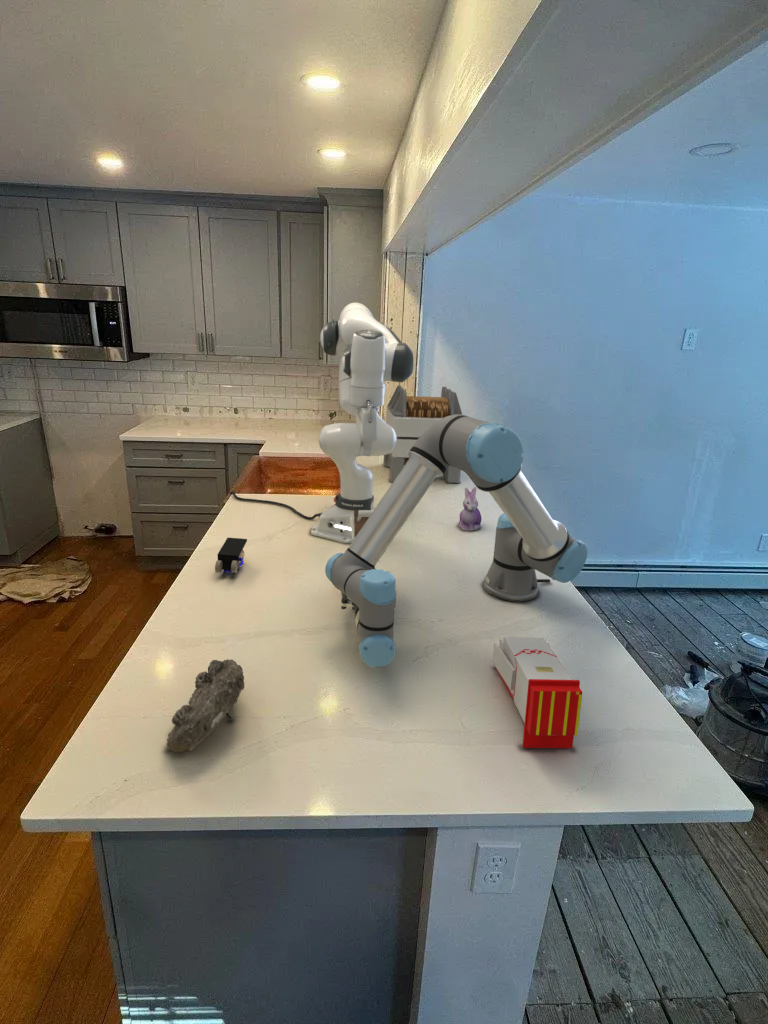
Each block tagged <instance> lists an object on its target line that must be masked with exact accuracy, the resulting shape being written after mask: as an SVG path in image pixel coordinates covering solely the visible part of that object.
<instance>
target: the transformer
mask: <svg viewBox="0 0 768 1024" xmlns="http://www.w3.org/2000/svg"><path fill="white" fill-rule="evenodd" d="M440 393H441V394H440V396H415V395H414V396H413V395H412V396H411V395H407V394H408V393H407V390H406V389H404V388H403V387H402V385H399V384H398V385H397V386H396V388H395V390H394V392H393V394H392V395H391V398H390V400H389V402H388V404H387V405H386V413H385V414H386V415H385V422H386V423H387V424H389V425H390V426H391V427H392V428H393V429H394V431H395V433H396V436H397V443H396V446H395V448H394V450H393V451H392V452H391V453H390V454H386V455H383V466H384V467H388V468H389V475H388V476H389V477H388V478H389V480H390V482H391V483H393V482H394V480H395V479H396V477H397V476H398V474H399V473H400V472H401V470H402V469H403V467H404V466H405V464H406V463H407V461H408V460H409V454H408V452H409V451H410V449H411V448H412V447H413V445H414V444H415V443H416V441H417V440H418V439H419V438H420V436H421V435H422V434H423V433H424V432H425V431H426V430H427V429H428V428H429V427H430V426H432V425H433V424H434V423H436V422H437V421H439V420H440V419H442V418H444V417H447V416H450V415H457V414H458V415H463V411H462V408H461V405H460V402H459V398H458V395H457V392H455V391H453V390H452V389H451V388H447V386H442V387H441V392H440ZM461 472H462V470H460V469H458V468H455V467H452V466H451V467H449V468H448V469H447V470H446V471H445V473H444V474H443V476H442V477H443V478H444V479H445V481H446V482H447V483H449V484H455V483H456V484H459V483H461Z"/></svg>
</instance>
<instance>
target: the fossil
mask: <svg viewBox="0 0 768 1024" xmlns="http://www.w3.org/2000/svg"><path fill="white" fill-rule="evenodd" d="M243 670H244V669H243V667H242V665H240V664H237V662H236V661H235V660H234V659H232V658H231V659H227V658H226V659H224V660H223V661H222V660H217V659H212V660H211V661H210V663H209V665H208V666H207V671H201V672H199V673H198V674H197V675H196V676H195V680H194V684H195V685H194V687H195V689H194V690H193V693H192V694H191V697H190V698H189V700H188V704H184V705H182V706H181V707H180V709H177V710H176V711H175V713H174V715H173V716H172V718H171V723H172V724H173V727H172V730H171V731H170V732H168V734H167V738H166V741H167V742H166V745H167V749H168V750H169V751H173V752H174V753H176V754H178V753H182V752H188V751H189V752H192V751H193V750H195V748H196V747H197V746H199V744H200V743H201V742H203V741H204V740H205V739H206V738H207V737H208V736H209V735H210V734H211V733H212V732H214V730H215V729H217V727H218V726H219V724H220V722H221V721H222V720H223V719H224V718H225V716H226V717H227V719H229V720H233V717H232V715H230V714H229V710H230V709H231V708H234V706H235V704H236V703H237V702H238V699H239V697H240V695H241V693H242V691H243V690H245V689H244V688H245V675H244V671H243Z"/></svg>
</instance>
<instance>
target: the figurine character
mask: <svg viewBox="0 0 768 1024" xmlns="http://www.w3.org/2000/svg"><path fill="white" fill-rule="evenodd" d="M247 542H248V538H240V537H226V539H225V541H224V543H223V544H222V546H221V547H220V549H219V551H218V552H217V560H216V562H215V564H214V572H215V573H221V577H222V578H224V577H225V576H226V574H227V573H230V574H231V573H232V574H231V578H234V577H235V575H236V573H237V572H239V571H240V567H242V566H243V565H244V564H245V562H244V558H245V551H244V547H245V546H246V544H247Z"/></svg>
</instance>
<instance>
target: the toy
mask: <svg viewBox="0 0 768 1024" xmlns="http://www.w3.org/2000/svg"><path fill="white" fill-rule="evenodd" d="M491 662H492V663H493V665H494V667H495V669H496V671H497V673H498V675H499V676H500V678H501V680H502V683H503V684H504V686H505V688H506V689H507V691H508V693H509V695H510V697H511V698H512V700H513V702H514V705H515V707H516V709H517V711H518V713H519V715H520V717H521V719H522V722H523V724H524V725H523V736H522V748H524V749H573V747H574V738H575V736H577V737H578V734H579V725H580V717H581V710H582V709H581V708H582V701H583V700H582V699H583V690H582V689H581V688H580V685H581V681H580V679H574V677H573V676H572V675H571V673H570V672H569V670H568V669H567V668H566V667H565V665H564V664H563V662H562V661H561V660H560V658H559V657H558V656H557V654H556V653H555V651H554V650H553V649H552V647H551V645H550V643H549V642H547V640H546V639H545V637H543V636H542V637H541V636H535V637H534V636H503V637H500V638H499V642H498V643H497V642H494V643H493V649H492V657H491Z"/></svg>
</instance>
